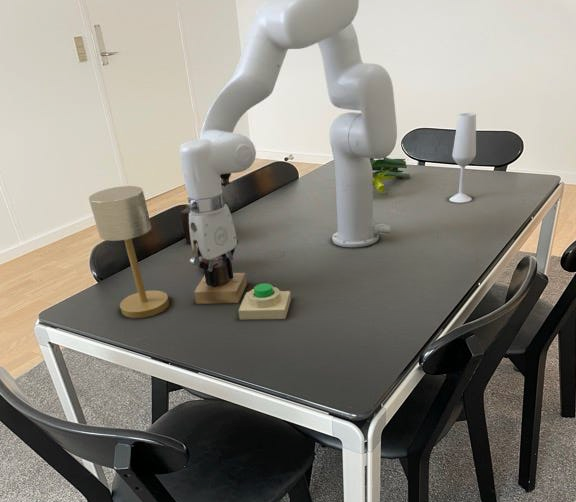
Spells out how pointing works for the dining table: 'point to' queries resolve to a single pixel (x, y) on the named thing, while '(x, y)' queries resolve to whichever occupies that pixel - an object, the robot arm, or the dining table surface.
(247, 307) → the switch block
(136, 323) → the dining table surface
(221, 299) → the panel
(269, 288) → the lamp button
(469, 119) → the champagne flute
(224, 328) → the dining table surface
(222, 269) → the dimmer knob
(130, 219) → the desk lamp
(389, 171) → the daffodil flowers
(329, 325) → the dining table surface
